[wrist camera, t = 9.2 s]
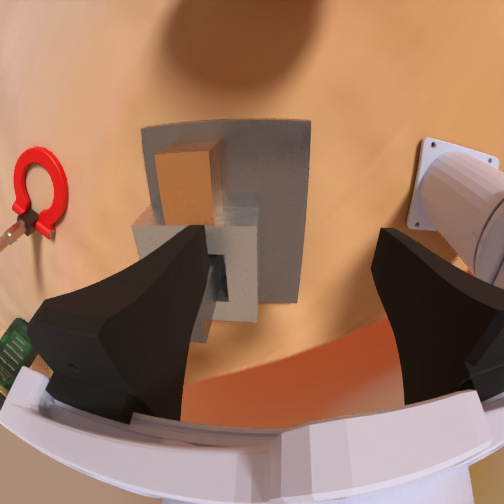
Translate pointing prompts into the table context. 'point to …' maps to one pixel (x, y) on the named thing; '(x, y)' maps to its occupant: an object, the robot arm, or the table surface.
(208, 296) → the pin
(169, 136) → the bracket fixture
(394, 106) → the table surface
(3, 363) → the coffee jar
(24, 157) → the tow hook
